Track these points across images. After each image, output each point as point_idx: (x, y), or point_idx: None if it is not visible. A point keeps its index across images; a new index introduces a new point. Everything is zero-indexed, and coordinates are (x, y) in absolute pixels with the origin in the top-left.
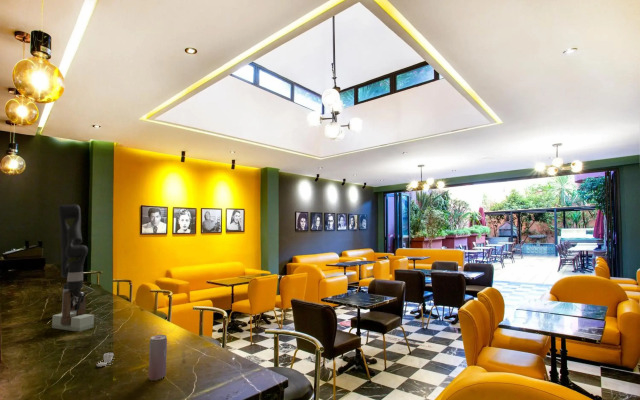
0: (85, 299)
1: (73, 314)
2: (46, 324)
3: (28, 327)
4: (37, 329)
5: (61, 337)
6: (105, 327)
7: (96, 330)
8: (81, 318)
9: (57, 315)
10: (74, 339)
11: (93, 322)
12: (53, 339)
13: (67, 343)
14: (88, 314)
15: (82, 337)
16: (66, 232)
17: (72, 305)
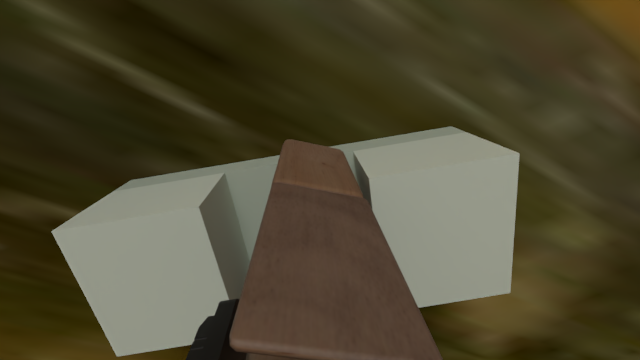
0: (417, 309)
1: (208, 222)
2: (9, 257)
3: (12, 339)
4: None
5: (460, 326)
6: (552, 77)
7: (549, 159)
8: (508, 280)
9: (161, 338)
10: (571, 309)
11: (472, 136)
12: (453, 356)
13: (593, 349)
14: (431, 173)
15: (587, 275)
16: None
17: (228, 346)
